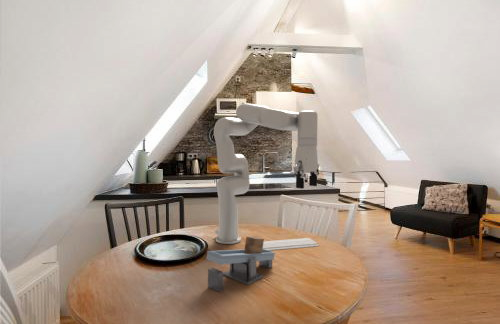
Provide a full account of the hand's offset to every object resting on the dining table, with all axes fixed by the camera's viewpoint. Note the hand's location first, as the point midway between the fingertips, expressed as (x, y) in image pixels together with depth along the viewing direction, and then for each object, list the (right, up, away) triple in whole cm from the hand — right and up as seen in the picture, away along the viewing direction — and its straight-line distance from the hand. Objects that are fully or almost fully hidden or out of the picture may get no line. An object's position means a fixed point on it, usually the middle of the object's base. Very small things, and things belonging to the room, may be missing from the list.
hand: (306, 187), depth 121 cm
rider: (-21, -24, -7) cm, 33 cm away
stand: (-25, -31, -10) cm, 41 cm away
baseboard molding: (-6, -30, +24) cm, 39 cm away
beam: (-25, -24, -11) cm, 36 cm away
